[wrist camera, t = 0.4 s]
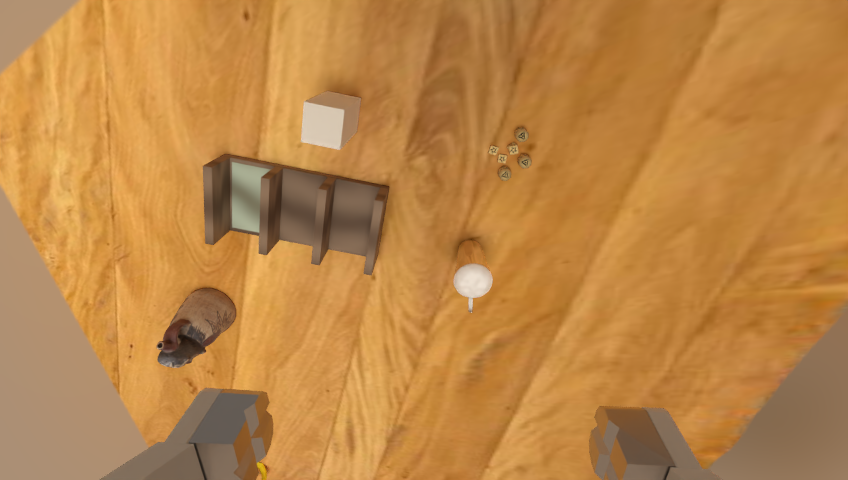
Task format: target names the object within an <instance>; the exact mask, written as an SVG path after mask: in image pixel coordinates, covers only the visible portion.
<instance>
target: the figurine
mask: <svg viewBox="0 0 848 480" xmlns="http://www.w3.org/2000/svg"><path fill="white" fill-rule="evenodd" d="M235 317H236V309H235V306H234V304H233V303H232V301H231V300H230V299H229V297H227V296H226V295H225V294H224V293H222V292H220V291H218V290H215V289H212V288H204V289H200V290H197V291H195V292H193V293H192V294H190V295H189V296H188V297H187V298H186V300H185V301H184V302H183V304H182V305H181V307H180V308H179V310H178V311H177V313H176V315H175V316H174V318H173V320H172V321H171V324H170V326H169V328H168V329H167V330H166V332H165V334H164V338H163V341H159V343H158V344H157V348H158V349H159V350H162V351H161V352H160V354H159V356H158V362H159V363H160V364H162V365H164V366H167V367H172V368H179V367H182V366H184V365H185V364H188V363H191V362H192V359H193V358H194V357H196V356H197V355H199V354H203V353H205V352H206V350H205V347H206V346H208V345H210V344H211V343H213V342H214V341H215V340H216V338H217V337H218V336H219V335H220V334H221V333H222V332H224V331H225V330H227V329H228V328H229V327H230V326H231V324H232V323H233V322H234V320H235Z"/></svg>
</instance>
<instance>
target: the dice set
mask: <svg viewBox="0 0 848 480" xmlns="http://www.w3.org/2000/svg"><path fill="white" fill-rule="evenodd" d="M528 135H529V133H528V132H527V131H526V130H525V129H524V128H523V127H522V128H518V129H517V130H516V131H515V137H516V139H517V140H518V141H519V142H525V141H526V140H527V139H528ZM507 148H508V149H509V153H510V155H513V154H517V153H518V146H517V144H515V143H514V142H513V143H511V144H510V145H508V146H507ZM498 149H499V147H496V146H493V145H491V146H490V149H489V152H488V153H489V154H493V155H496V154H497V151H498ZM506 159H507V155H503V154H499V156H498V161H497V162H499V163H506ZM518 163H519V165H520V166H521V167H522V168H528V167H529V166H530V165H531V159H530V157H529V156H528V155H527V154H521V155H520V156H519V157H518ZM498 175H499V177H500V178H501V180H504V181H507V180H508V179H510V178H511V172H510V170H509V168H508V167H505V166H502V167H501V168H500V169H499V171H498Z"/></svg>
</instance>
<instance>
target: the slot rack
mask: <svg viewBox="0 0 848 480" xmlns="http://www.w3.org/2000/svg"><path fill="white" fill-rule="evenodd" d="M203 182H204V214H205V243H206V244H211V245H214V244H215V243H216V242H217V241H218V240H220V239H221V238H222V237H223V236H224V235H225V234H226V233H227V232H229V231H230V230H232V231H237V232H242V233H248V234H253V235H258V236H259V254H263V255H267V254H268V253H269V252H270V251H271V249H272V248H273V247H274V246H275V244H276V243H277V242H278V241H279V240H284V241H289V242H294V243H299V244H304V245H309V246H313V251H312V262H311V264H315V265H320V263H321V261H322V260H323V258H324V256H325V254H326V252H327V251H328V249H330V250H335V251H340V252H346V253H351V254H356V255H361V256H366V261H365V268H364V274H367V275H372V272H373V269H374V266H375V263H376V260H377V256H378V252H379V245H380V239H381V233H382V227H383V221H384V215H385V209H386V203H387V197H388V191H389V187H388V186H383V185H378V184H374V183H369V182H364V181H359V180H354V179H349V178H344V177H339V176H334V175H329V174H324V173H319V172H314V171H309V170H304V169H299V168H294V167H289V166H284V165H279V164H274V163H269V162H264V161H259V160H254V159H249V158H244V157H239V156H234V155H229V154H224V155H222V156H221V157H219V158H217V159H215V160H213V161H211V162H209V163H207V164H206V165H204V166H203Z"/></svg>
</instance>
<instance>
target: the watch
mask: <svg viewBox="0 0 848 480" xmlns="http://www.w3.org/2000/svg"><path fill="white" fill-rule="evenodd" d="M257 467H258V468H259V470H260V472H261V474H262V480H266V478H267V471H266V468H265V466H264V464H263V463H260V462H258V463H257Z"/></svg>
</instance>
